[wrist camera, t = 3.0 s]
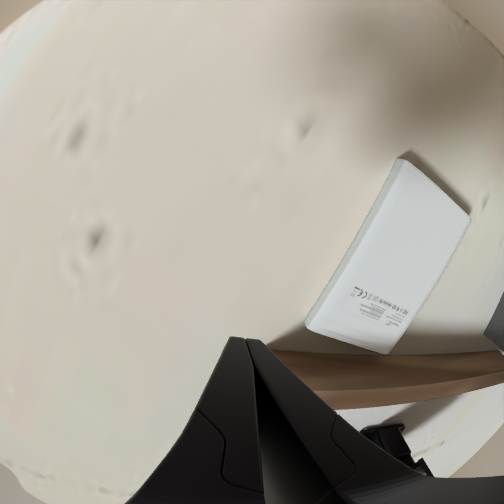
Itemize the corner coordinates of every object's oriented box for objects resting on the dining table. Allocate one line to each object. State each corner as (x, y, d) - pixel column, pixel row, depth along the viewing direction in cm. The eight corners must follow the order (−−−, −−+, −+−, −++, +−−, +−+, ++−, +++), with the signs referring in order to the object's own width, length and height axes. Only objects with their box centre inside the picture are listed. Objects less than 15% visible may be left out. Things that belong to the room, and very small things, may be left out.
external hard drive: (460, 214, 20) (380, 345, 23) (393, 156, 17) (301, 317, 21) (473, 220, 18) (389, 357, 21) (407, 159, 16) (307, 331, 19)
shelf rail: (490, 363, 27) (507, 381, 24) (252, 369, 21) (260, 409, 17) (498, 350, 27) (516, 368, 23) (259, 348, 21) (268, 389, 17)
